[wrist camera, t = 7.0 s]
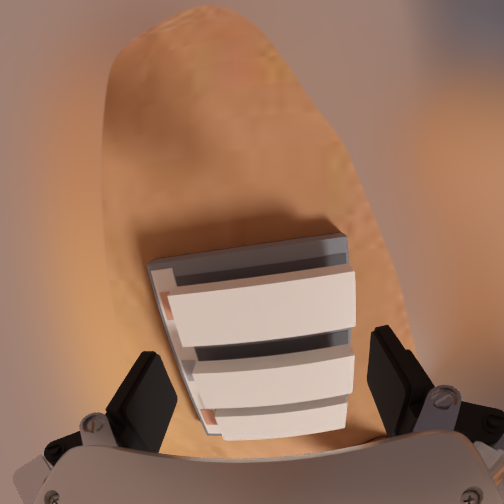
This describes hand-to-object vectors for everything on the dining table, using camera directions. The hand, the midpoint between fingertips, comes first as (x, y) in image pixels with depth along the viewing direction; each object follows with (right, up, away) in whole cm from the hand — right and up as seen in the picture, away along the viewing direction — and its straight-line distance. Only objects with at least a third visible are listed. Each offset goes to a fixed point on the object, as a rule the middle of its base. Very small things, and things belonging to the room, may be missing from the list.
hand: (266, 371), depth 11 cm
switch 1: (0, +1, +8) cm, 8 cm away
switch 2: (+2, -11, +12) cm, 16 cm away
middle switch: (+1, -5, +9) cm, 11 cm away
